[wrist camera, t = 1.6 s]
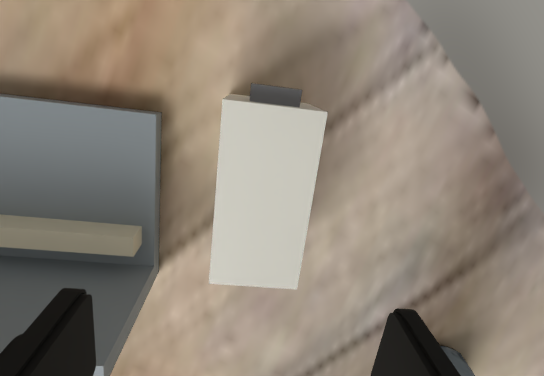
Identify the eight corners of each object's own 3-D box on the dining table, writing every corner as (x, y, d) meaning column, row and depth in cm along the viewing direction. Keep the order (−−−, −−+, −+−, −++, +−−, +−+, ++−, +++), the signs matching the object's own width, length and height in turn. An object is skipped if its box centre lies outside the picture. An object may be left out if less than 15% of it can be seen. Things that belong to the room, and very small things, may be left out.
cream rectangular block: (309, 89, 25) (330, 94, 18) (286, 241, 29) (297, 289, 22) (230, 79, 24) (223, 80, 18) (218, 235, 28) (208, 283, 22)
